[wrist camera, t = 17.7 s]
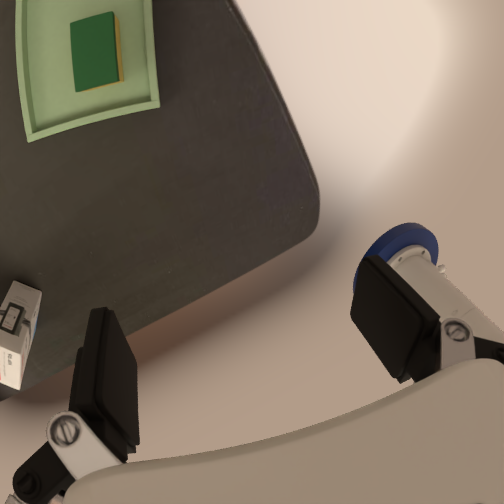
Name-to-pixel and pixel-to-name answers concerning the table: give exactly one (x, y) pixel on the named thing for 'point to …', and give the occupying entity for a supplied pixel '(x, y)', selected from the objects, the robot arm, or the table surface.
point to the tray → (61, 70)
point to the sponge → (96, 52)
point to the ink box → (17, 331)
